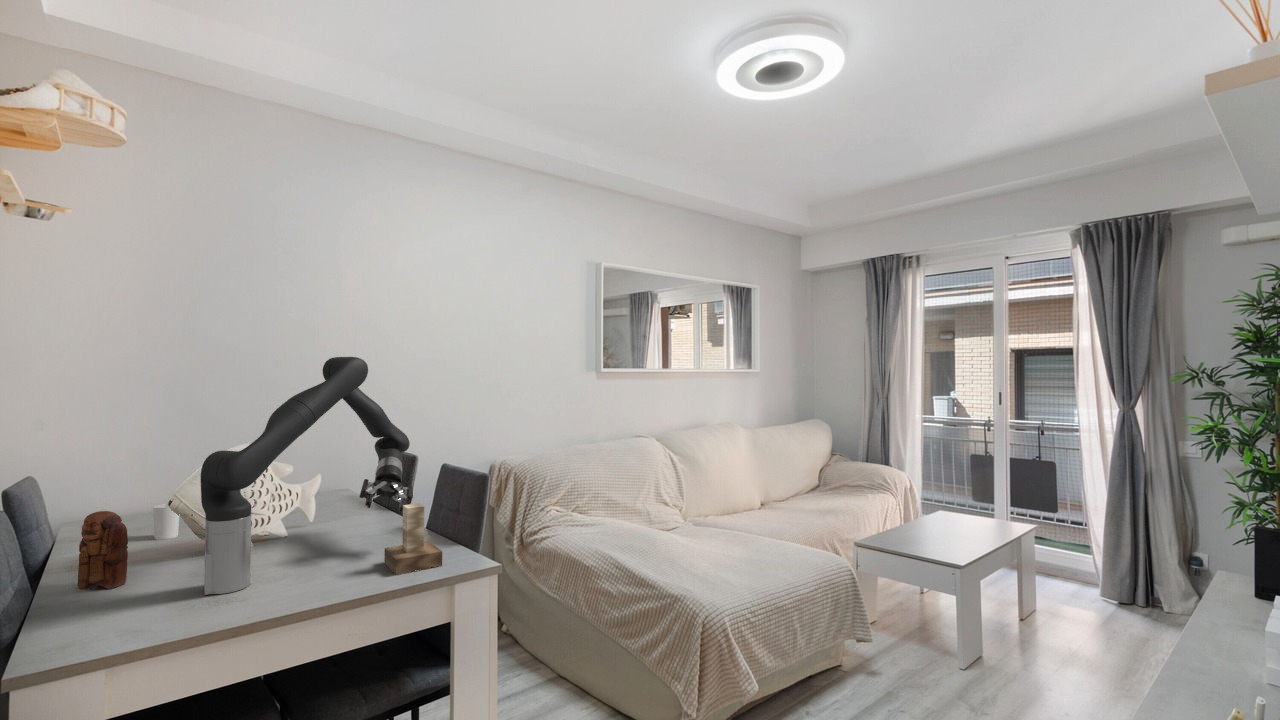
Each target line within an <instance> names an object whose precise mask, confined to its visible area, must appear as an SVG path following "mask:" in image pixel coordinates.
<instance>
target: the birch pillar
mask: <svg viewBox="0 0 1280 720" xmlns="http://www.w3.org/2000/svg"><path fill="white" fill-rule="evenodd" d="M424 541H425V506H424V505H423V504H421V502H419V503H411V504H406V505H403V510H402V544H401V545H402V549H403V550H404V551H405V552H406V553H411V552H417V551H423V550H424Z"/></svg>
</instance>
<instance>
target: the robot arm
mask: <svg viewBox="0 0 1280 720" xmlns="http://www.w3.org/2000/svg"><path fill="white" fill-rule="evenodd" d="M368 374H369V366H368V364H367V362H366V361H365V360H364V359H362V358H361V357H357V356H336V357H330V358H329V359H327V360H326V361H325V362H324V364H323V367H322V376H323V378H324V381H322V382H321V383H319V384H317V385H314V386H312V387H309V388H307V389H305V390H302V391H301V392H299V393H297V394H295V395H293V396H292V397H290V398H289V399H287V400H285V402H283V403H282V404H281V405H280V406H279V407H278V408H276V409H275V410H274V411H273V413H271V414H270V416H269V418H268V420H267V423H266V425H265V428H264V430H263V432H262V433H261V434H260V436H258V437H257V439H255V440H254V441H253V442H251V443H250V444H249V445H247V446H246V447H245V448H243V449H241V450H239V451H238V450H218V451H214V452H212V453H211V454H209V455H208V456H207V457H206V458H205V460H204V461H203V463H202V465H201V470H200V496H201V497H200V500H201V508H202V510H203V512H204V513H205V514H204V515H205V518H204V519H205V531H204V532H205V534H204V535H205V536H204V537H205V539H204V575H203V576H204V581H203V582H204V583H203V588H204V589H203V590H204V592H203V594H204V595H205V596H206V595H222V594H228V593H229V594H230V593H233V592H237V591H240V590H243V589H246V588H248V587H249V586H250V585H251V566H252V565H251V562H252V559H251V558H252V556H251V555H252V553H251V552H252V505H251V502H250V501H249V500H247V499H246V498H245V497H244V495H242V493H241V490H243V489H245V488H248V487H250V486H251V485H252V484H254V483H255V482H256V481H257V480H258V479H259V478H260V477H261V476H262V474H263V473H264V472H265V471H266V470H267V469H268V467H269V466H271V465H272V463H273V462H274V461H276V459H277V458H278V457H279V456H280V455H281V454H282V453H283V452H284V451H285V450H286V449H287V448H288V447H290V445H292V444H293V443H294V442H295V441H296V440H297V439H298V438H299V437H300V436H302V435H303V434H304V433H305V432H306V431H308V429H310V428H311V427H312V426H313V425H315V423H317V422H318V421H319V419H321V418H322V417H323V416H324V415H325V414H326V413H328V411H330V409H332V408H333V407H334V406H335V405H336V404H337V403H338V402H339V401H341V400H343V401H344V403H346V404H347V405H348V406H349V407H350V408H351V410H353V411H354V413H355V414H356V415H357V417H358V418H359V419H360V421H361V422H362V424H363V425H364V427H365V428H366V429H367V431H368V432H369V434H370V435H371V436H372V437H373V438H377V441H375V443H374V450H375V453H376V456H377V458H378V462H377V467H376V469H375V475H374V476H375V477H374V481H373V482H372V481H371V482H370V481H369V479H367V478H364V480H363V483H362V487H361V490H360V493H359V498H360V499H363V498H365V505H364V506H365V507H367V508H368V509H370V508H371V507H372V502H373V499H376V498H377V497H383V498H384V497H386V498H390V499H391V498H392V499H393V500H394V501H395V502H398V503H399V506H398V512H400V513H401V512H402V513H403V505H410V504H412V501H413V498H414V492H413V491H414V490H413V485H411V484H409V485H408V486H403V485H402V482H403V481H402V480H403V455H402V453H404V452H406V451H408V449H409V448H410V443H411V442H410V440H409V437H408V436H407V435H406V433H405V432H403V431H402V430H401V429H400V428H398V426H396V425H395V423H393V422H392V421H391V420H390V419H389V417H388V415H387V414H386V412H385V411H384V409H383V408H382V407H381V406H380V405H379V404H378V403H377V401H374V400H373V399H372V398H370V397H369V396H368V395H367V394H366V393H365V392H363V391H362V389H360V388H359V387H360V386H361V385H362V384H364V382H365V381H366V379H367V377H368ZM370 488H371V489H370Z"/></svg>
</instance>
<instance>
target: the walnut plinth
mask: <svg viewBox="0 0 1280 720" xmlns="http://www.w3.org/2000/svg"><path fill="white" fill-rule="evenodd" d="M384 564H385V565H386V566H387V567H388V569H390V570H391V571H392V572H393V574H394V575H395V576H397V575H404V574H408V573H407V572H409V573H412V572H411V571H414V572H416V571H415V570H419V571H421V570H420V569H424V570H427V569H426V568H429V569H432V568H431V567H435V568H438V567H437V566H440V567H443V551H442V549H440V548H439V547H438V546H436V545H435V544H433V543H432V541H429V540H427V541H426V540H424V550H423V551H417V552H411V553H406V552H405V551H404V550H403V549H402V544H400V545H397V546H395V545H394V546H390V547H384ZM403 573H404V574H403Z"/></svg>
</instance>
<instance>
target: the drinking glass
mask: <svg viewBox="0 0 1280 720" xmlns="http://www.w3.org/2000/svg"><path fill="white" fill-rule="evenodd" d="M168 503H169V502H168ZM168 503H161V504H156V505H154V506H152V509H153V511H152V512H153V514H152V515H153V531H154V532H153V534H154V537H153V538H154V540H158V541H159V540H160V541H161V540H163V541H164V540H171V539H174V538H176V537H179V527H180V515H179V516H178V515H177V514H176V513H174V512H173V511H171V509H170V508H169V506H168Z"/></svg>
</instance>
